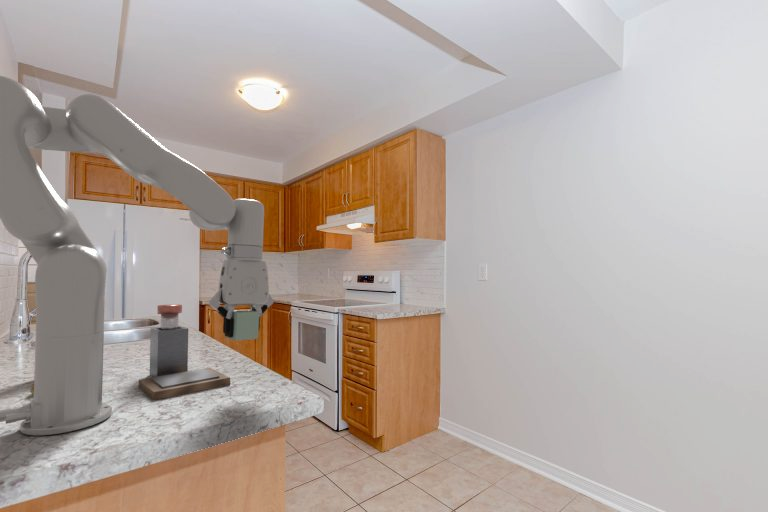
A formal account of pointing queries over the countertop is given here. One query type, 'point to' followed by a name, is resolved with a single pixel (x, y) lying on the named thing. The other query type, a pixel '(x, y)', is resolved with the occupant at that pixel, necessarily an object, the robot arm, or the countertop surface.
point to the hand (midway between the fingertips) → (241, 334)
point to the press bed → (182, 383)
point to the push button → (169, 316)
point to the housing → (245, 325)
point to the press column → (168, 351)
